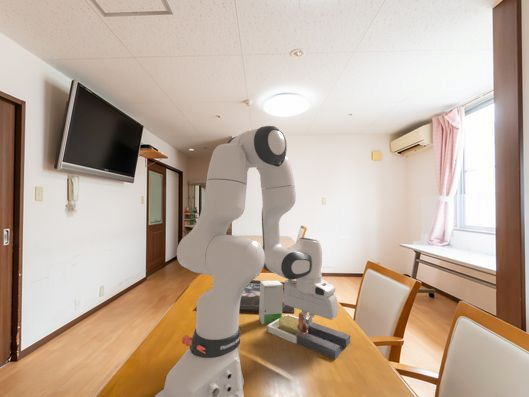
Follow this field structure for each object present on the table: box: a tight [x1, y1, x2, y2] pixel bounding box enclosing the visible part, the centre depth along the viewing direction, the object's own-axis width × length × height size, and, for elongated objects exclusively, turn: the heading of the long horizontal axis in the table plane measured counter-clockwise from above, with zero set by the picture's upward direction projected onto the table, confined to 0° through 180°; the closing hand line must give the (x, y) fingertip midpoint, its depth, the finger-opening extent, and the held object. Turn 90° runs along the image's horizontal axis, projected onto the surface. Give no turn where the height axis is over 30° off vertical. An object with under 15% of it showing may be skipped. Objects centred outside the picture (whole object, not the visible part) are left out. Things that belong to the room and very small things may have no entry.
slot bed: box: [295, 321, 351, 360], centre depth 85 cm, size 12×14×4 cm
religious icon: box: [195, 279, 295, 315], centre depth 129 cm, size 40×45×3 cm
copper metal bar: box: [297, 311, 308, 334], centre depth 90 cm, size 4×2×7 cm, turn 141°
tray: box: [266, 313, 309, 344], centre depth 93 cm, size 13×12×3 cm
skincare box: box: [258, 280, 283, 325], centre depth 102 cm, size 8×7×16 cm
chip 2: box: [287, 319, 299, 336], centre depth 92 cm, size 4×4×4 cm
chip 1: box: [278, 314, 294, 333], centre depth 94 cm, size 4×4×4 cm
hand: (308, 323), depth 88 cm, fingers closed
